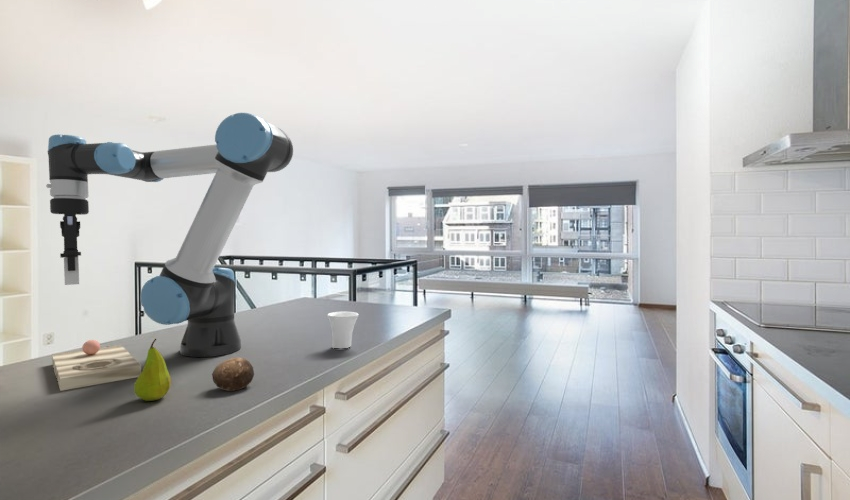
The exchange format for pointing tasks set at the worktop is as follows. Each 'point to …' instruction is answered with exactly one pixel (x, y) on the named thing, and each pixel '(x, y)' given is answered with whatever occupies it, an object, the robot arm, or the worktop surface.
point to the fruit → (153, 377)
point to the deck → (94, 367)
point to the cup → (342, 328)
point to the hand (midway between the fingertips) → (72, 282)
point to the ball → (91, 347)
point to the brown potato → (233, 374)
